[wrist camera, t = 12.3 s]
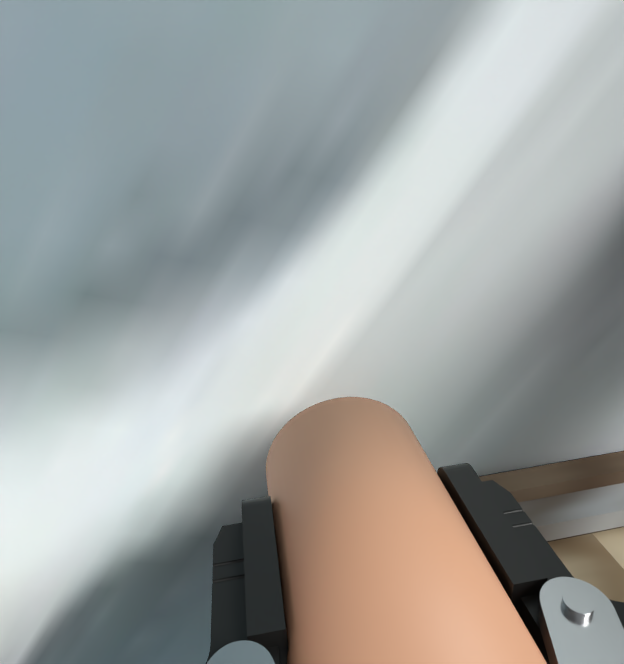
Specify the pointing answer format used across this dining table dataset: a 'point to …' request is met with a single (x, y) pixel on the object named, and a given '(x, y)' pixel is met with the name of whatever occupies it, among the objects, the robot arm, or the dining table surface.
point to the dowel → (380, 549)
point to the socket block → (595, 559)
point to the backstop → (569, 494)
